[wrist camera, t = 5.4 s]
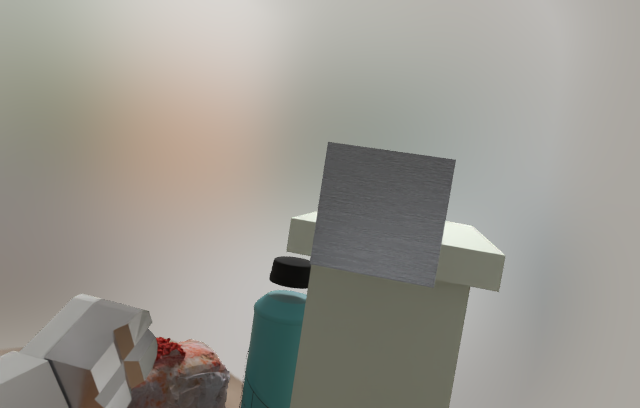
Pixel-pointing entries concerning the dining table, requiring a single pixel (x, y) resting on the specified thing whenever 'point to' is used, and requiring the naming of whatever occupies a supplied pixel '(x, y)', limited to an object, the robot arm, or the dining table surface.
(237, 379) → the dining table surface
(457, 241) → the sage stand
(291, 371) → the beverage bottle
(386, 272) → the graphite bar
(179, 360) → the food item
